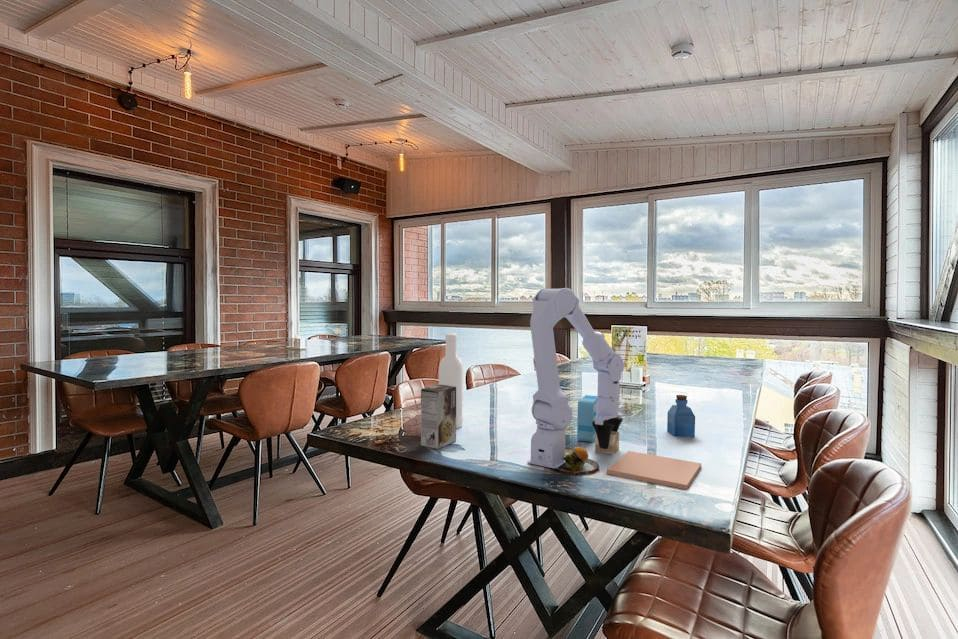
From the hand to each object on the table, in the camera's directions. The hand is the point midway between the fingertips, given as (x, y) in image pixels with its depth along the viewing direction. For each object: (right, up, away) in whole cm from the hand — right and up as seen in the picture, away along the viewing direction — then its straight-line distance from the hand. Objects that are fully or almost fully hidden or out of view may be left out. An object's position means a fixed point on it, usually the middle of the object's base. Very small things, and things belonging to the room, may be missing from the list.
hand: (607, 445), depth 138 cm
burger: (-11, -3, -14) cm, 18 cm away
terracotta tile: (+8, -2, -16) cm, 18 cm away
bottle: (-44, 0, +25) cm, 51 cm away
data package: (-2, -1, +13) cm, 14 cm away
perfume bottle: (+28, -1, +19) cm, 34 cm away
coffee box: (-47, -1, +5) cm, 47 cm away
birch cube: (0, -1, 0) cm, 1 cm away
